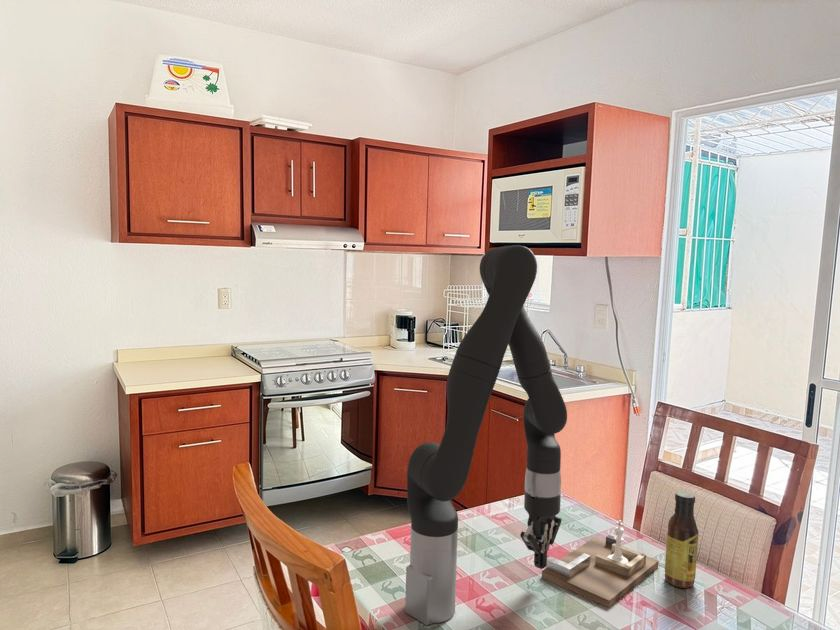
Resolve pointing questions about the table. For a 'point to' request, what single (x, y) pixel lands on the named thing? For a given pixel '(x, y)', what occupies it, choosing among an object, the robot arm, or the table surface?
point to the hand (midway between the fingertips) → (540, 566)
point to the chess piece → (618, 545)
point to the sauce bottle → (682, 543)
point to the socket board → (604, 571)
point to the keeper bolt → (568, 565)
